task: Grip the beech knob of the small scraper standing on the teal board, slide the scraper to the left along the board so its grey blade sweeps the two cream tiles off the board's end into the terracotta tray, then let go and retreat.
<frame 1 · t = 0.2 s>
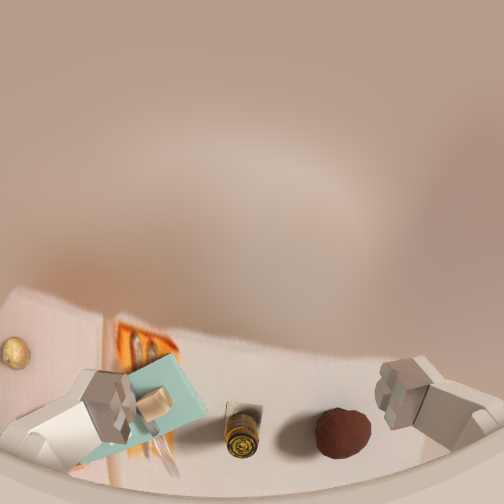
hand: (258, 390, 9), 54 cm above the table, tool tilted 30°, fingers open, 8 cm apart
board: (124, 412, 56), on the table
scraper: (160, 398, 54), point 4 cm above the table, touching board
muffin: (334, 425, 58), on the table
condiment: (242, 421, 57), on the table
tan oval lump: (23, 352, 57), on the table
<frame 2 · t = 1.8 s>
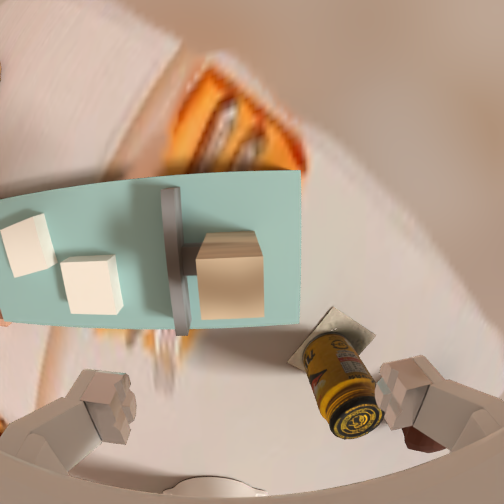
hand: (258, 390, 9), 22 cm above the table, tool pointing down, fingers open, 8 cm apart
tile b: (33, 243, 25), point 4 cm above the table, touching board
board: (125, 249, 30), on the table
scraper: (231, 254, 27), point 4 cm above the table, touching board
muffin: (419, 396, 38), on the table
tile a: (95, 281, 26), point 4 cm above the table, touching board
condiment: (331, 347, 35), on the table
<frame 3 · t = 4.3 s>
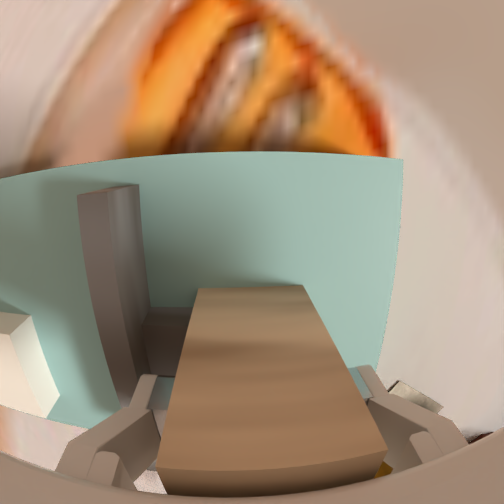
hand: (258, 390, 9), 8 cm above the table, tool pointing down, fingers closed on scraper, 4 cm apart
board: (61, 292, 16), on the table
scraper: (251, 332, 12), point 4 cm above the table, touching board, gripper
tile a: (12, 352, 12), point 4 cm above the table, touching board
condiment: (384, 427, 21), on the table
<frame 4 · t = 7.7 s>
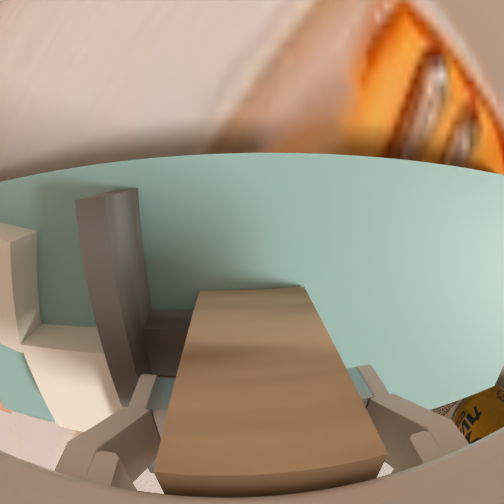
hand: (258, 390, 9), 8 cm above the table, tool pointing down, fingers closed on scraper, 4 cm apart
tile b: (1, 273, 11), point 4 cm above the table, touching tile a
board: (250, 294, 16), on the table
scraper: (253, 334, 12), point 4 cm above the table, touching gripper, tile a
tile a: (96, 371, 13), point 4 cm above the table, touching scraper, tile b
condiment: (480, 396, 21), on the table
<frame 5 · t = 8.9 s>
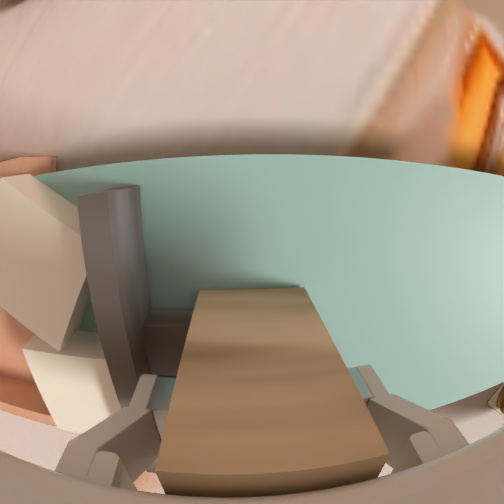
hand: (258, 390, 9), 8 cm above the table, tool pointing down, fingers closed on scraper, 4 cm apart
tile b: (50, 254, 11), point 4 cm above the table, touching scraper
board: (373, 288, 17), on the table
tray: (3, 293, 15), on the table
scraper: (252, 334, 12), point 4 cm above the table, touching gripper, tile a, tile b
tile a: (97, 375, 13), point 4 cm above the table, touching scraper
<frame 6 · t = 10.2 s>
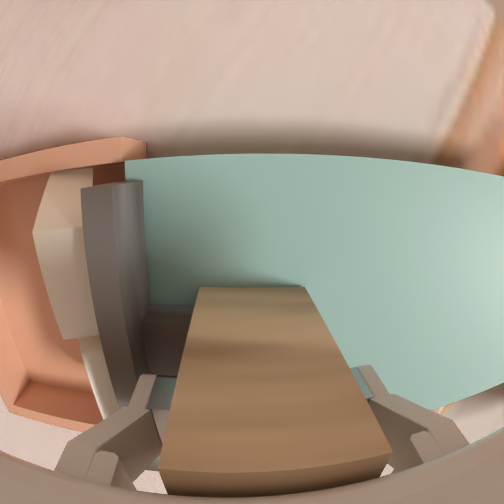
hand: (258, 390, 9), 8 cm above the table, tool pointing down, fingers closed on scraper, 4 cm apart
tile b: (96, 247, 12), point 4 cm above the table, tilted 65°, touching tray
board: (444, 281, 17), on the table
tray: (61, 294, 16), on the table
scraper: (251, 332, 12), point 4 cm above the table, touching gripper
tile a: (122, 361, 14), point 3 cm above the table, tilted 57°, touching tray
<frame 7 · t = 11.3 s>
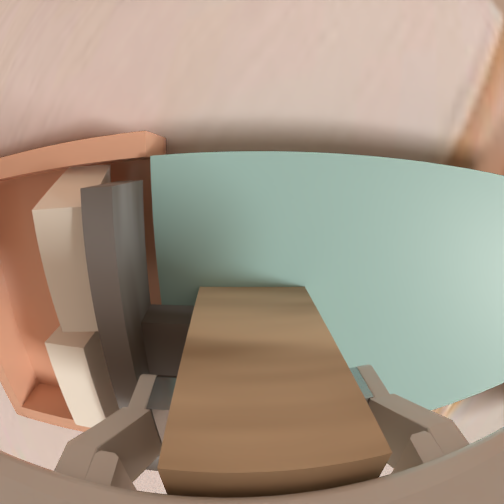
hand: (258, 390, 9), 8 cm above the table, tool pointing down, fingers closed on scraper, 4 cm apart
tile b: (106, 241, 11), point 4 cm above the table, tilted 75°, touching tray
board: (456, 280, 17), on the table
tray: (74, 293, 16), on the table
scraper: (251, 332, 12), point 4 cm above the table, touching gripper
tile a: (113, 363, 13), point 3 cm above the table, tilted 90°, touching tray
when the fingers open (8 cm above the table, at t = 12.3 s): scraper stays where it is, resting on board.
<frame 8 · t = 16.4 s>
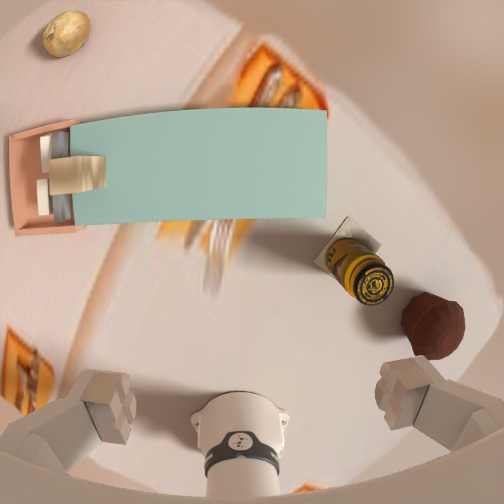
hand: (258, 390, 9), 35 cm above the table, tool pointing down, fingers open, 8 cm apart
tile b: (59, 150, 35), point 4 cm above the table, tilted 76°, touching tray
board: (194, 164, 40), on the table
tray: (50, 179, 39), on the table
scraper: (92, 172, 36), point 4 cm above the table, touching board
muffin: (420, 314, 49), on the table
tile a: (57, 194, 37), point 3 cm above the table, tilted 90°, touching tray
condiment: (347, 252, 45), on the table
tan oval lump: (75, 39, 34), on the table
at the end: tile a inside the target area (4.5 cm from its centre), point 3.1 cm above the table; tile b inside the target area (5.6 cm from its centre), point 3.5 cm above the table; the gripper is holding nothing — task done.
